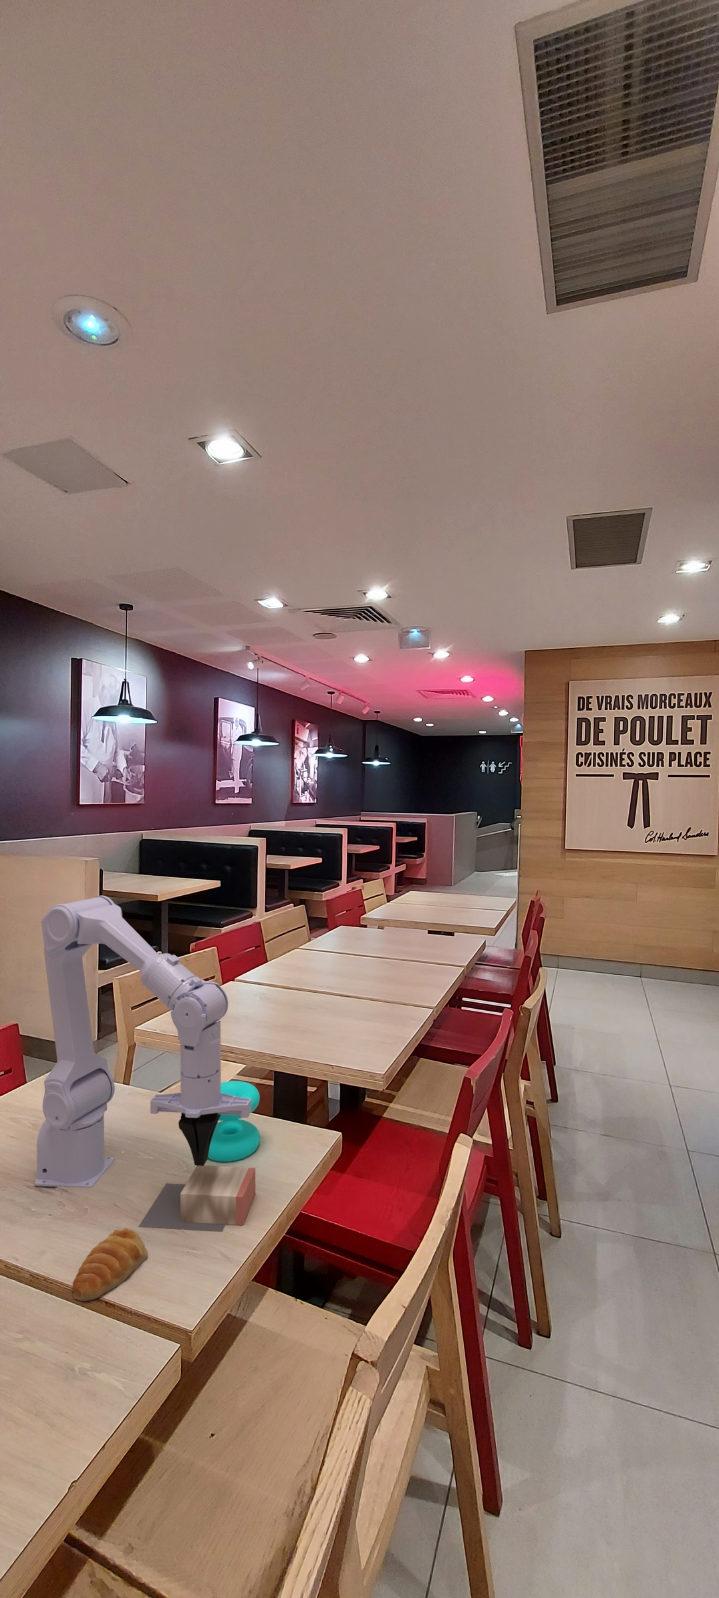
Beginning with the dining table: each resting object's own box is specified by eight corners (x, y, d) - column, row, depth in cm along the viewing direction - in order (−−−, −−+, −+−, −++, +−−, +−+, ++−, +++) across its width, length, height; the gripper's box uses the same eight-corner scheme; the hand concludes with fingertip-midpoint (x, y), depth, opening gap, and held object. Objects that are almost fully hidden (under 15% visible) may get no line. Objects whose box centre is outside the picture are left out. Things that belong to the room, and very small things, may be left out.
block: (180, 1193, 92) (242, 1197, 91) (197, 1165, 98) (255, 1168, 98) (180, 1221, 92) (243, 1225, 91) (197, 1191, 99) (255, 1194, 98)
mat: (138, 1229, 91) (138, 1226, 91) (166, 1186, 101) (166, 1183, 101) (222, 1234, 89) (222, 1231, 89) (241, 1190, 99) (241, 1187, 99)
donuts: (264, 1078, 116) (253, 1105, 106) (264, 1134, 116) (253, 1166, 106) (208, 1077, 116) (192, 1105, 106) (209, 1133, 116) (193, 1165, 106)
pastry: (102, 1314, 76) (102, 1282, 76) (56, 1300, 78) (56, 1269, 78) (151, 1259, 85) (151, 1230, 85) (109, 1248, 87) (109, 1220, 87)
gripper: (141, 1080, 91) (141, 1175, 91) (241, 1084, 90) (242, 1181, 90) (160, 1059, 98) (161, 1148, 98) (254, 1062, 97) (255, 1152, 97)
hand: (201, 1162), depth 95 cm, fingers closed
